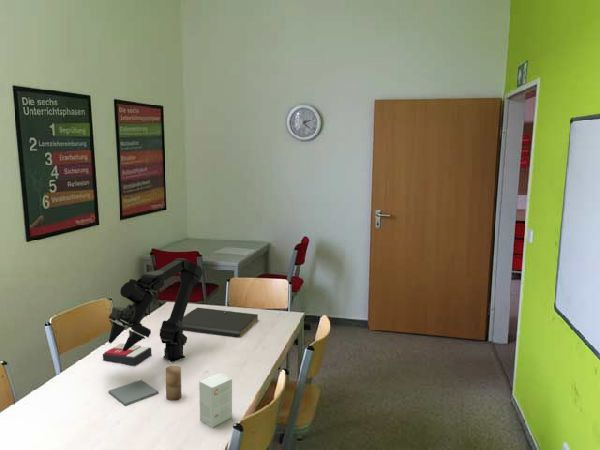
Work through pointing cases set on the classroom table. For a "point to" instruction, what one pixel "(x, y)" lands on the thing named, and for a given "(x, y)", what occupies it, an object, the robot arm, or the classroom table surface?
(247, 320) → the file folder
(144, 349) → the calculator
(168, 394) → the roller
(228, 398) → the small box
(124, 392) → the pad
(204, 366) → the classroom table surface
